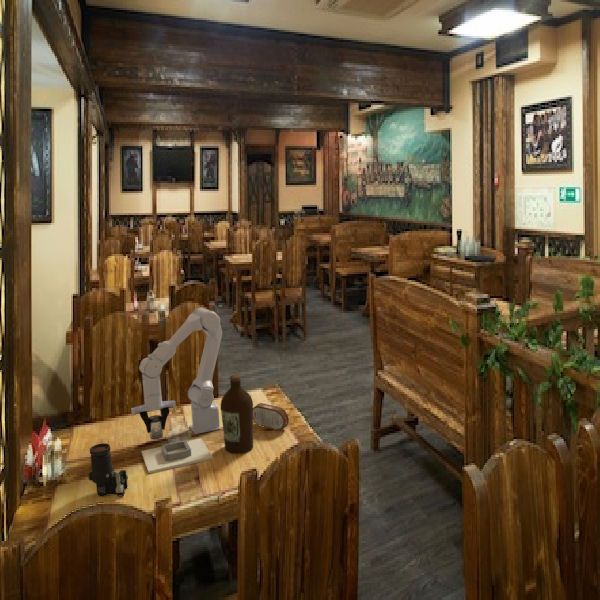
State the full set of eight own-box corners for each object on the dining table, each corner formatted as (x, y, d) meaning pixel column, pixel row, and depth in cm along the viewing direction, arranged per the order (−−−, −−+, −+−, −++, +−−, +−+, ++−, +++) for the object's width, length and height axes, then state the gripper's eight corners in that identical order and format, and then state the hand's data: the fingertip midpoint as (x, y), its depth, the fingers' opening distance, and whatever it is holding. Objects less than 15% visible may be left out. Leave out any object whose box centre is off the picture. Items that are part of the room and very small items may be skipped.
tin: (289, 430, 187) (288, 408, 185) (284, 433, 184) (283, 411, 183) (256, 422, 195) (255, 400, 193) (250, 425, 192) (249, 403, 191)
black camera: (117, 453, 143) (80, 455, 143) (122, 499, 146) (85, 501, 145) (125, 439, 151) (90, 442, 151) (129, 483, 154) (95, 486, 153)
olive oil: (235, 438, 182) (231, 369, 177) (261, 444, 176) (257, 373, 172) (216, 451, 172) (212, 379, 168) (243, 457, 167) (238, 383, 163)
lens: (162, 432, 184) (160, 414, 182) (164, 437, 180) (162, 418, 178) (148, 435, 182) (147, 416, 180) (150, 440, 178) (149, 421, 176)
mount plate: (201, 440, 181) (200, 432, 180) (212, 458, 167) (211, 450, 167) (141, 453, 173) (140, 444, 172) (148, 473, 159) (147, 464, 159)
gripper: (171, 385, 184) (174, 421, 187) (129, 392, 178) (132, 430, 181) (175, 391, 178) (178, 429, 180) (131, 399, 172) (135, 438, 175)
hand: (155, 430), depth 180 cm, fingers closed on lens, 4 cm apart
